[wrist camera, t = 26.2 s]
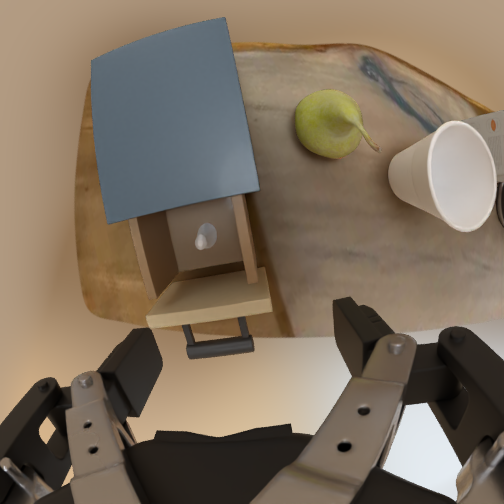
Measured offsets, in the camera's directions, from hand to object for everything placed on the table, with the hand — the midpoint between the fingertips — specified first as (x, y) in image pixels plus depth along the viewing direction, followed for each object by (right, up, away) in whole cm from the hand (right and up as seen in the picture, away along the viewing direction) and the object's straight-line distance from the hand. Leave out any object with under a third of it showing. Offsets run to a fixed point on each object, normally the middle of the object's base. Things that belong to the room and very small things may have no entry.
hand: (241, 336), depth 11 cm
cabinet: (-6, +16, +16) cm, 23 cm away
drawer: (-4, +4, +18) cm, 18 cm away
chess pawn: (-4, +5, +16) cm, 18 cm away
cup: (+19, +12, +17) cm, 28 cm away
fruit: (+8, +16, +16) cm, 24 cm away
